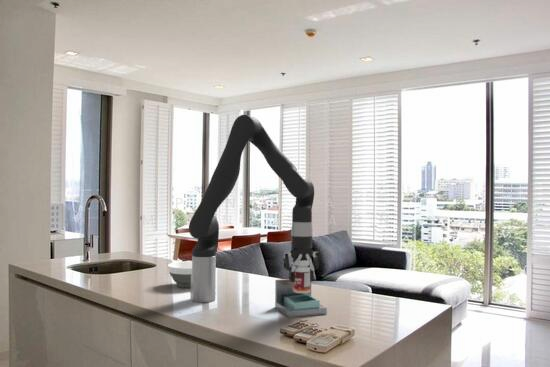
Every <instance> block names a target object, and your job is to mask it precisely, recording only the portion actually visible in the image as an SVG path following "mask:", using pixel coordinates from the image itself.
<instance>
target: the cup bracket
mask: <svg viewBox="0 0 550 367" xmlns="http://www.w3.org/2000/svg"><path fill="white" fill-rule="evenodd" d="M274 284H275V288H274V290H275V292H274V293H275V294H274V295H275V298H274V299H275V300H274V301H275V302H274V306H275V308H276V309H277V310H278V311H280V312H281V313H283V314H284V315H285V316H287V317H288V318H296V317H297V318H298V317H299V318H300V317H308V316H318V315H327V314H328V312H327V310H328V309H327V307H326V306H324V305H323V304H320V300H319V299H318V298H315V297H314V296H312V281H310V292H308V293H295V292H293V282H291V281H290V280H289V278H285V279H283V278H282V279H281V278H280V279H275V283H274Z"/></svg>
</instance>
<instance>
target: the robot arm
mask: <svg viewBox="0 0 550 367" xmlns="http://www.w3.org/2000/svg"><path fill="white" fill-rule="evenodd" d="M227 138H228V139H227V141H226V144H225V146H224V149H223V151H222V154H221V155H220V158H219V161H218V163H217V165H216V167H215V169H214V171H213V174H212V175H211V178H210V181H209V183H208V185H207V188H206V190H205V192H204V194H203V197H202V199H201V201H200V203H199V204H198V207H197V208H196V210H195V212H194V213H193V215H192V217H191V219H190V220H189V224H188V232H189V234H190V236H191V237H192V238H193V239H197V242H196V244H195V246H194V247H193V248H192V252H191V253H192V254H191V255H192V256H191V261H192V274H191V288H190V301H192V302H193V303H209V302H214V301H215V300H216V289H217V288H216V285H217V284H216V282H217V281H216V278H217V274H216V272H217V271H216V270H217V269H216V267H217V265H216V264H217V250H218V247H219V236H220V234H219V233H220V227H219V226H220V225H219V221H218V219H217V217H216V216H215V215H216V213H217V210H218V209H219V208H220V206H221V205H222V203H224V201H225V200H226V199H227V198H228V197H229V196H230V194H231V193H232V191H233V189H234V188H235V186H236V183H237V181H238V179H239V176H240V172H241V159H242V154H243V152H244V150H245V147H246V145H247V143H249V142H250V144H252V145H254V146H255V147H256V148H257V149H258V150H259V152H260V153H261V154H262V156H263V158H264V159H265V161H266V163H267V164H268V166H269V168H271V170H272V171H273V172H274V173H275V174H276V175H277V177H278V178H280V180H281V181H282V183H283V184H284V186H285V188H286V189H287V190H288V192H289V193H290V195H292V196H293V197H294V198H295V205H294V206H293V208H292V212H291V213H292V214H291V216H292V217H291V219H292V221H291V231H290V234H291V237H290V238H291V241H290V242H291V246H290V247H291V250H290V252H283V253H282V261H283V269H284V270H286V271H288V277H289V278H288V279H289V280H290V281H291V282H295V272H294V270H295V268H296V266H297V265H298V263H299V261H303V260H309V265H308V267H309V268H310V281H311V282H313V280H314V271H315V270H318V269H319V268H320V258H321V252H319V251H313V223H312V222H313V212H312V211H313V210H312V209H313V205H314V199H315V187H314V184H313V182H312V181H310V180H309V179H306V178H305V179H304V178H303V177H302V176H301V175H300V174H299V172H298V169H297V167H296V166H295V164H293V163H292V161H291V160H290V159H289V158H288V156H286V155H285V153H284V152H283V151H282V150H281V149H280V148H279V147H278V146H277V145H276V143H275V142H274V141H273V139H272V138H271V137H270V135H269V133H267V131H266V128H264V126H263V124H262V123H261V122H260V120H259V119H258V118H255V117H254V116H251V115H249V114H241V115H238V116H237V117H236V119H234V121H233V123H232V126H231V129H230V132H229V135H228V137H227ZM312 257H313V262H312V260H311V258H312ZM291 258H292V260H291V262H290V259H291Z"/></svg>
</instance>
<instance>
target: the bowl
mask: <svg viewBox="0 0 550 367" xmlns="http://www.w3.org/2000/svg"><path fill="white" fill-rule="evenodd" d="M167 270H168V273H169V275H170V276H171V278H172V280H173V281H174V283H175V284H176V286H177V287H178V286H180V287H179V288H181V287H186V288H185V289H191V274H192V260H189V261H175V262H171V263H169V264H167Z"/></svg>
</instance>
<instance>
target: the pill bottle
mask: <svg viewBox="0 0 550 367" xmlns="http://www.w3.org/2000/svg"><path fill="white" fill-rule="evenodd" d="M308 265H309V260H303V261H299V263H298V265H297V266H296V268H295V270H294V272H295V282H293V292H295V293H308V292H310V268H309V267H308Z"/></svg>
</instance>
